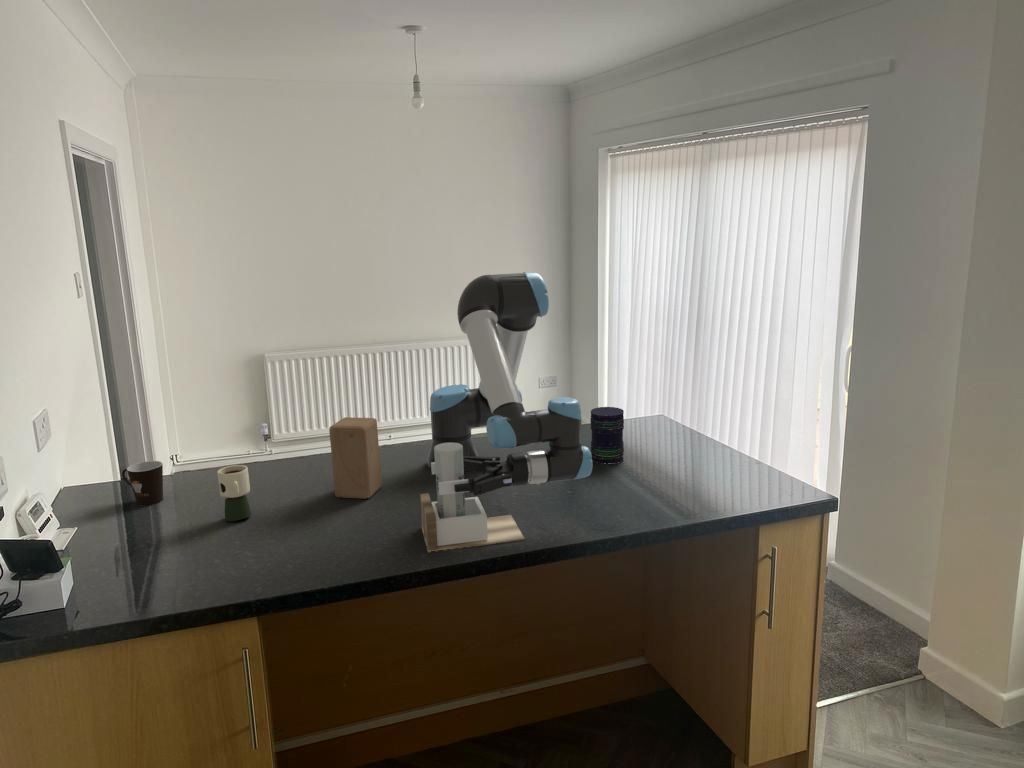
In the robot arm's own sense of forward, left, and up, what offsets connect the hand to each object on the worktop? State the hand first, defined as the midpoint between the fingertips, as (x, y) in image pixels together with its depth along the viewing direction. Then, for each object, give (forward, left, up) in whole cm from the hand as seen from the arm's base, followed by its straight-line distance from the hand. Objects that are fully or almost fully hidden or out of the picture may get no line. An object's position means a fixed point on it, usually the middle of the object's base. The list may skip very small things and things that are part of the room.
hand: (434, 478), depth 166 cm
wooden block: (-35, -17, -15) cm, 42 cm away
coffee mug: (-47, -73, -15) cm, 88 cm away
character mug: (-26, -47, -15) cm, 56 cm away
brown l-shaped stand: (0, +8, -14) cm, 16 cm away
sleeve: (0, +5, -14) cm, 15 cm away
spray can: (0, +3, -13) cm, 14 cm away
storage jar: (-40, +56, -15) cm, 70 cm away
